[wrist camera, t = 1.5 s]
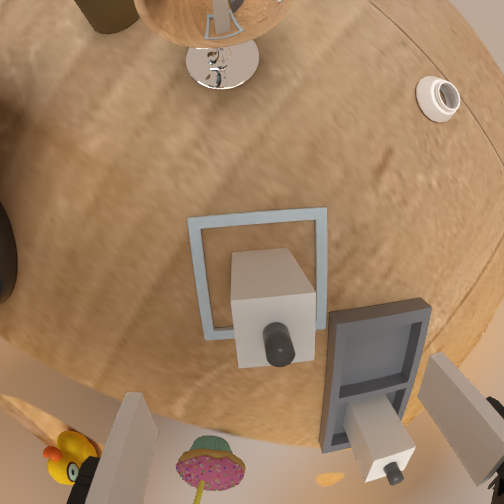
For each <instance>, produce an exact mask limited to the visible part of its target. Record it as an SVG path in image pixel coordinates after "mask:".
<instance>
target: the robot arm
mask: <svg viewBox="0 0 504 504" xmlns="http://www.w3.org/2000/svg"><path fill="white" fill-rule="evenodd" d="M16 271H17V258H16V248H15V242H14V238H13V233H12V230H11V226H10V224H9V221H8V218H7V216H6V214H5V211H4V209H3V208H2V206H1V204H0V304H1V303H2V302H3V301H5V300H6V299H7V298H8V297H9V295H10V294H11V292H12V290H13V287H14V284H15V279H16ZM417 397H418V398H419V400H420V401H421V403H422V404H423V405H424V407H425V408H426V410H427V411H428V413H429V414H430V416H431V417H432V418H433V420H434V421H435V423H436V424H437V426H438V427H439V429H440V430H441V432H442V433H443V435H444V436H445V438H446V439H447V441H448V442H449V444H450V445H451V447H452V448H453V450H454V452H455V453H456V454H457V456H458V458H459V459H460V461H461V462H462V464H463V465H464V467H465V469H466V470H467V472H468V473H469V475H470V477H471V478H472V480H473V481H474V483H475V485H476V486H479V485H481V484H482V483H484V482H486V481H487V480H489V479H490V478H491V477H492V475H493V474H494V473H495V472H497V473H498V476H497V477H496V478H495V479H494V480H493V481H492V483H491V484H490V485H489V487H488V489H490V488H491V487H492V486H493V485H494V484H495V486H494V488H493V489H494V492H493V497H492V502H491V504H504V407H503V406H502V405H501V403H500V402H499V401H497V400H496V399H494V398H492V397H490V396H489V397H488V398H485V397H484V396H483V395H482V394H481V393H480V392H479V391H478V390H477V389H476V387H475V386H474V385H473V384H472V383H471V382H470V381H469V380H468V379H467V378H466V377H465V376H464V374H463V373H462V372H460V370H459V369H458V368H457V367H456V366H455V365H454V364H453V363H452V362H451V361H450V360H449V359H448V358H447V357H446V356H445V354H444V353H443V352H439V353H435V354H432V355H430V356H429V360H428V363H427V367H426V370H425V374H424V377H423V381H422V384H421V387H420V390H419V393H418V396H417ZM157 436H158V430H157V427H156V425H155V423H154V421H153V418H152V416H151V413H150V411H149V409H148V406H147V404H146V401H145V399H144V396H143V394H142V392H126V394H125V396H124V399H123V401H122V404H121V406H120V409H119V411H118V414H117V416H116V419H115V422H114V424H113V426H112V429H111V431H110V434H109V437H108V439H107V442H106V445H105V447H104V450H103V453H102V455H101V458H99V457H94V456H89V457H88V458H87V459H86V460H85V461H84V462H83V463H82V464H81V467H80V469H79V472H78V476H77V477H76V479H75V484H74V485H73V487H72V490H71V493H70V495H69V498H68V501H67V504H143V501H144V496H145V491H146V486H147V481H148V477H149V471H150V467H151V463H152V458H153V454H154V449H155V445H156V440H157Z"/></svg>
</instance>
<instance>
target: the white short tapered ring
mask: <svg viewBox="0 0 504 504" xmlns="http://www.w3.org/2000/svg"><path fill="white" fill-rule="evenodd" d="M440 89H441V91H442V92H443V94H444V96H445V99H446V105H445V104H444V103H443V101H442V99H441V97H440V92H439V90H440ZM416 97H417V100H418V104H419V106H420V108H421V109H422V111H423V113H424V114H425V115H426V116H427V117H428V118H429V119H431V120H432V121H435V122H438V123H440V122H446V121H448V120H449V119H450V118H451V117H452V116H453V115H454V113H455V112H456V110H457V109H458V107H459V105H460V96H459V93H458V91H457V89H456V88H455V86H454V85H453V84H451V83H450V82H448V81H445V80H443V79H440V78H437V77H435V76H425V77H424V78H422V79H421V80H420V81H419V82H418V85H417V87H416Z"/></svg>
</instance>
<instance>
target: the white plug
mask: <svg viewBox="0 0 504 504" xmlns="http://www.w3.org/2000/svg"><path fill="white" fill-rule="evenodd" d="M343 427H344V429H345V432H346V434H347V437H348V439H349V442H350V445H351V447H352V450H353V452H354V455H355V458H356V460H357V463H358V466H359V468H360V471H361V474H362V476H363V479H364V482H368V481H371V480H375V479H378V478H381V477H384V476H387V479H388V481H389V483H390V485H395V484H398V483H400V482H401V481H402V480H403V479H404V477H403V475H402V473H401V471H402V470H404V468H405V466H406V465H407V463H408V461H409V459H410V457H411V455H412V453H413V451H414V449H415V447H416V446H415V445H414V443H413V441H412V439H411V438H410V436H409V434H408V432H407V431H406V429H405V427H404V425H403V424H402V422H401V420H400V419H399V417H398V415H397V413H396V412H395V410H394V408H393V407H392V405H391V403H390V402H389V400H388V398H387V397H386V395H385V394H382V395H378V396H374V397H370V398H366V399H361V400H357V401H352V402H348V403H347V406H346V412H345V417H344V422H343Z"/></svg>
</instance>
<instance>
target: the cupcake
mask: <svg viewBox="0 0 504 504" xmlns="http://www.w3.org/2000/svg"><path fill="white" fill-rule="evenodd" d="M176 469H177V472H178V473H179V475H180V477H182V479H183V480H185V481H186V482H187V483H188V484H189V485H191V486H194V487H196V488H198V489H197V493H196V496H195V500H194V503H193V504H199V503H200V500H201V496H202V492H203V489H204V490H209V491H210V490H212V491H216V490H218V491H220V490H226V489H229V488H232V487H234V486H236V485H238V484H239V482H240V481H241V480H242V479H243V477H244V473H245V464H244V463H243V461H242V460H241V459H239V458H238V457H236V456H235V455H233V453H232V451H231V450H230V447H229V444H228V442H226V440H224V439H222V438H220V437H217V436H202V437H199V438H197V439H196V440H195V441H194V444H193V445H192V447H191V449H190V450H189V451H187V452H184V453H183V455H182V456H181V457H180V458H179V461H178V463H177V464H176Z"/></svg>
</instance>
